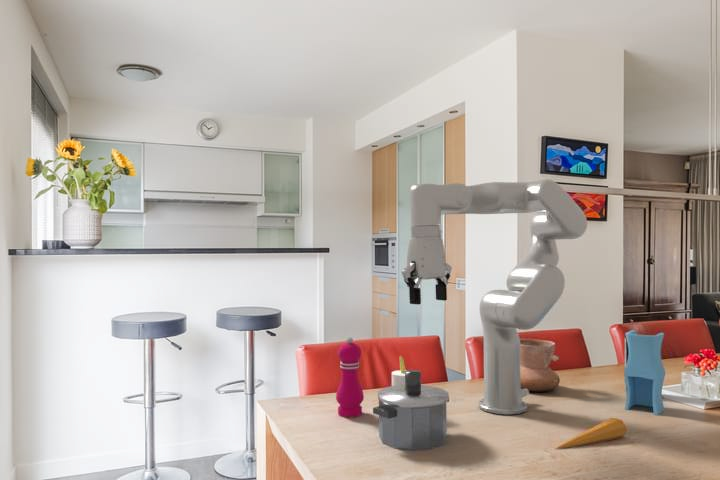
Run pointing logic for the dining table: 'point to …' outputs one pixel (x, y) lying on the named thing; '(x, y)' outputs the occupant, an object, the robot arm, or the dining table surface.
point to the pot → (412, 426)
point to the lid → (413, 393)
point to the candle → (399, 374)
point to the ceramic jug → (537, 365)
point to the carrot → (598, 433)
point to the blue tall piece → (644, 371)
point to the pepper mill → (349, 381)
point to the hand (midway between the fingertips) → (428, 302)
